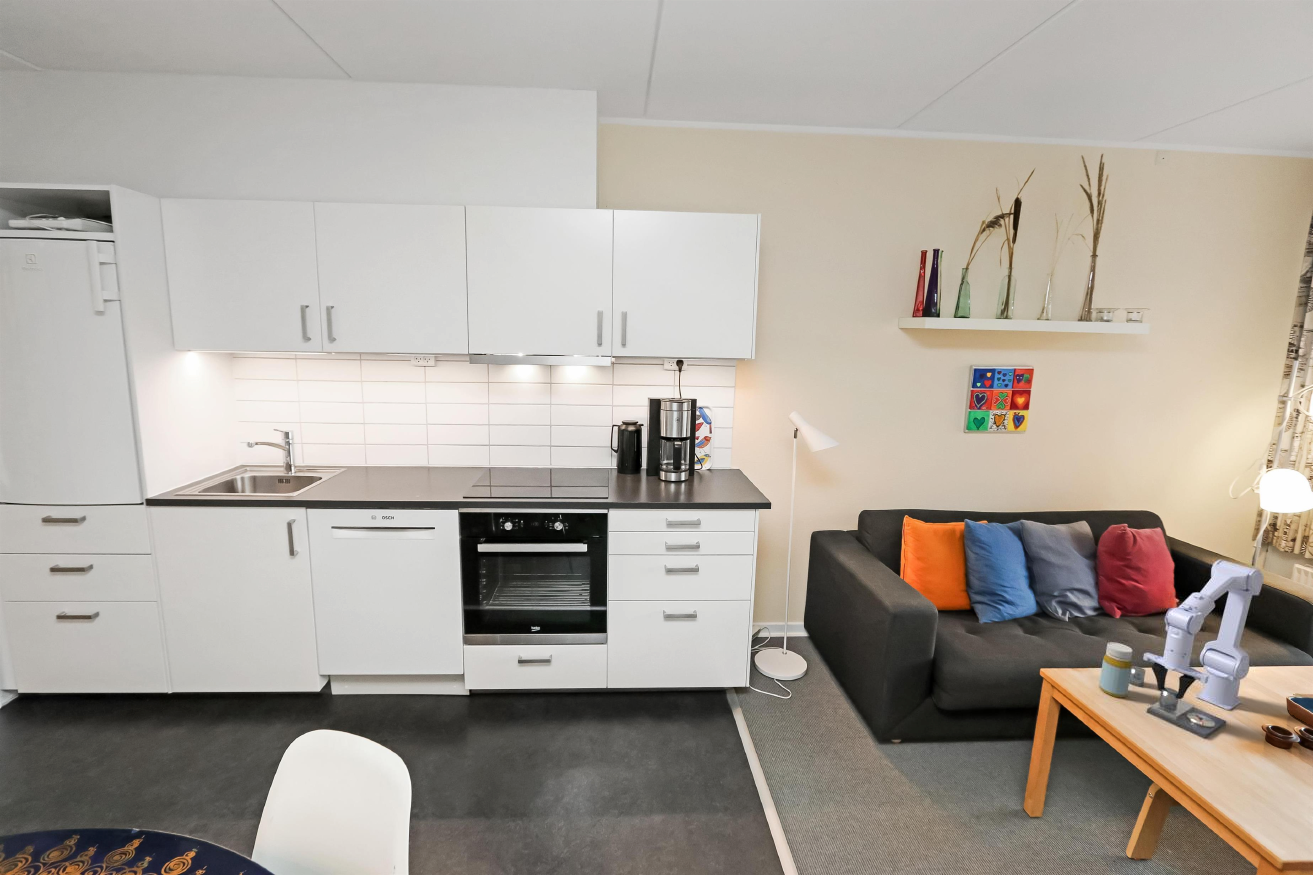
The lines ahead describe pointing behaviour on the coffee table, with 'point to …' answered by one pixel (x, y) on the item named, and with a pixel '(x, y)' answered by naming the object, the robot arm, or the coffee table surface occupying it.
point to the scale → (1189, 718)
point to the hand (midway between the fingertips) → (1170, 693)
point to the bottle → (1116, 670)
